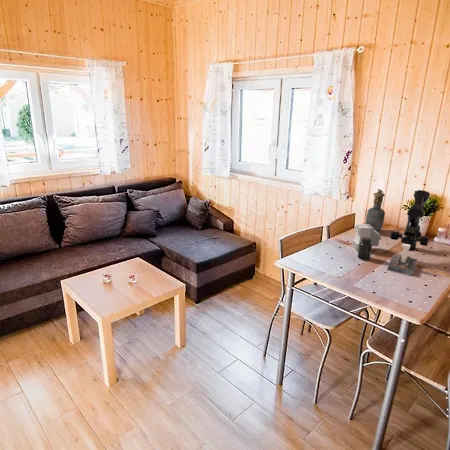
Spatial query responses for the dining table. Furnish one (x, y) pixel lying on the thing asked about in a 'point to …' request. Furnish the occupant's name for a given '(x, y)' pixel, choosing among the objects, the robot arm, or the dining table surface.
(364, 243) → the supplement bottle
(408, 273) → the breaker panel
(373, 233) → the circuit breaker
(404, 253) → the handle
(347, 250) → the dining table surface
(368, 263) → the dining table surface
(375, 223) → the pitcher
